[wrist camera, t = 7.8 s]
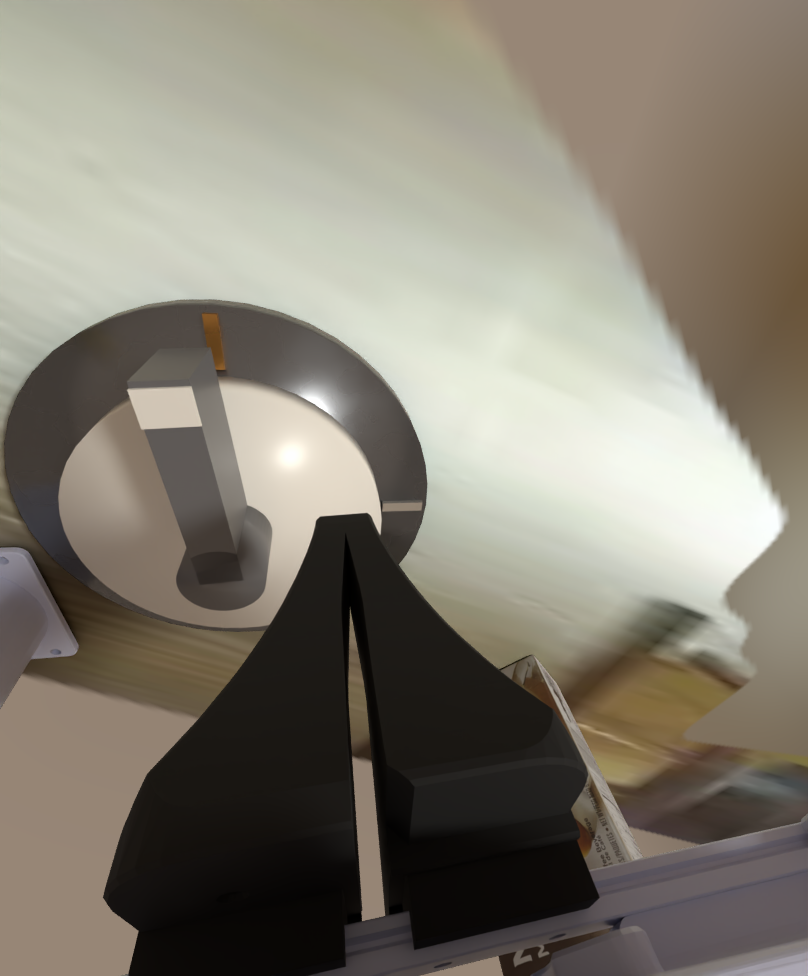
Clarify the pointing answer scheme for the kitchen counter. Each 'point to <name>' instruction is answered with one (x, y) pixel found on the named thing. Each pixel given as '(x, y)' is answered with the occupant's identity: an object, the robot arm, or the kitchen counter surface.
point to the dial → (208, 491)
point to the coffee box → (592, 811)
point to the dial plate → (236, 353)
